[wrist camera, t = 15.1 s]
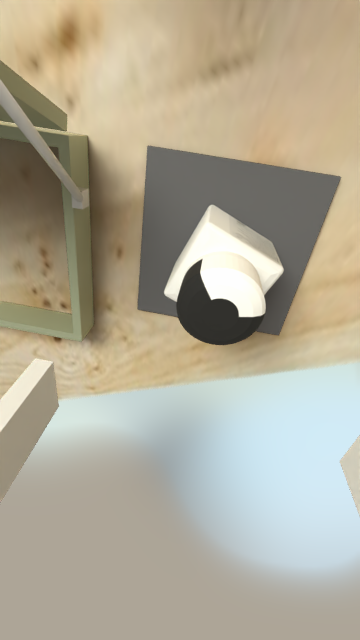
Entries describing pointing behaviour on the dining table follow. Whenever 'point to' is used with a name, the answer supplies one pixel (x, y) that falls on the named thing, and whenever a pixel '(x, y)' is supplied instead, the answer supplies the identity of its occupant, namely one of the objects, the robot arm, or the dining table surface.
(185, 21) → the dining table surface
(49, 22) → the dining table surface
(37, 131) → the case
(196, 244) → the container
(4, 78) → the lid
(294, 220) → the mat
